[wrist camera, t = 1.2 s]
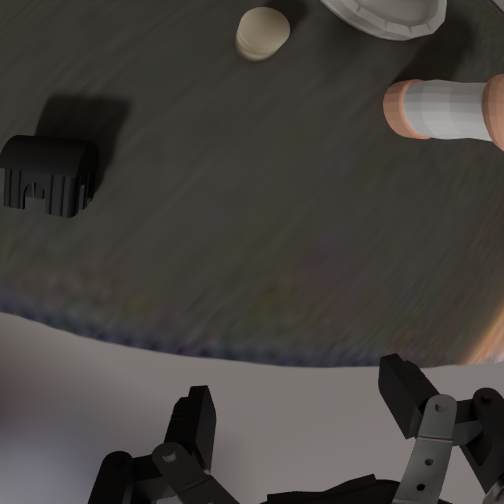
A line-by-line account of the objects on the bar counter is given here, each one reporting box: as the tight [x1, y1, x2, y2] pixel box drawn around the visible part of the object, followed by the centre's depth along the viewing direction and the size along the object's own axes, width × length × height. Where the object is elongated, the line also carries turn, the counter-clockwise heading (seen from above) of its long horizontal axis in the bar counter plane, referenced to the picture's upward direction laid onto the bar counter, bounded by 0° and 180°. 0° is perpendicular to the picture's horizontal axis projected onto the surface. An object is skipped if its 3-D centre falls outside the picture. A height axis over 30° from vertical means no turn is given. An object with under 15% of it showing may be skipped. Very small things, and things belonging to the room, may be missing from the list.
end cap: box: [0, 135, 99, 218], centre depth 25 cm, size 10×7×7 cm
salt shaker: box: [383, 74, 504, 151], centre depth 22 cm, size 7×7×19 cm
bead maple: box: [234, 7, 290, 63], centre depth 23 cm, size 4×4×6 cm
